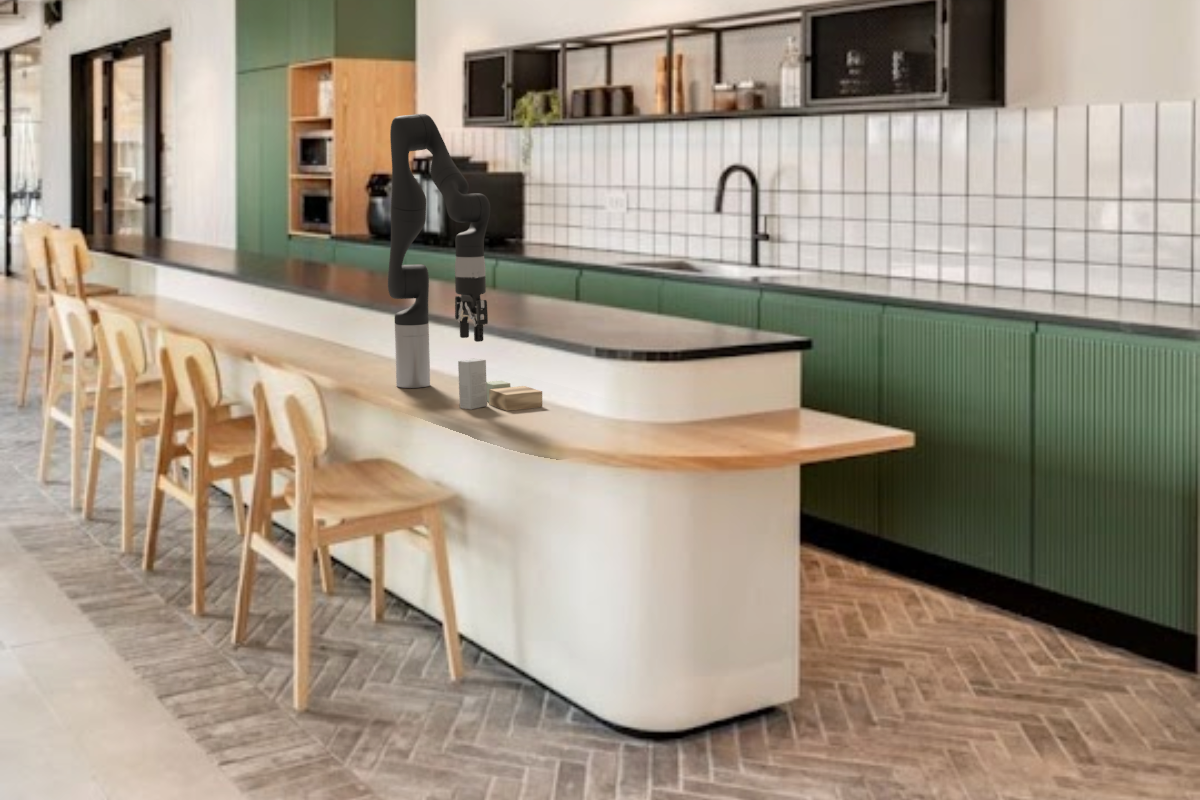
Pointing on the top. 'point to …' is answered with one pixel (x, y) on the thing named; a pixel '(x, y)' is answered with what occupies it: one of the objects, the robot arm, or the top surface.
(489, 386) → the sage cube
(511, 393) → the block
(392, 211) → the robot arm
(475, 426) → the top surface
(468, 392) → the skincare box
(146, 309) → the top surface
